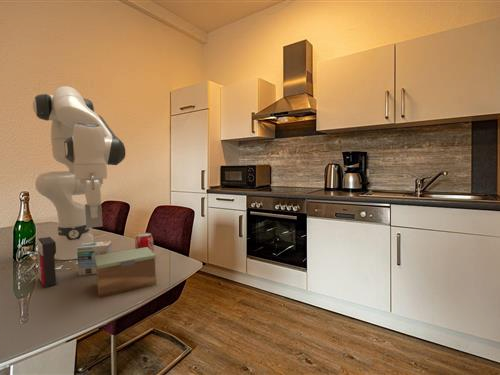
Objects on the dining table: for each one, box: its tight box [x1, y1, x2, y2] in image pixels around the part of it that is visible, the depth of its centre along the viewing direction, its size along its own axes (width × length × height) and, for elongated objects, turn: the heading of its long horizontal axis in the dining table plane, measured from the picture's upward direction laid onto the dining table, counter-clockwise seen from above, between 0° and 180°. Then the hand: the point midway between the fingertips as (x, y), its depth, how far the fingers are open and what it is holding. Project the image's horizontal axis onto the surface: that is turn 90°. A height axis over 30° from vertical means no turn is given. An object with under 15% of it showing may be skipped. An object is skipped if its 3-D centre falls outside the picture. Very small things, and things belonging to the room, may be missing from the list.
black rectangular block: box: [36, 236, 57, 288], centre depth 95 cm, size 11×4×15 cm, turn 45°
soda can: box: [134, 232, 155, 254], centre depth 114 cm, size 7×7×12 cm
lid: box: [95, 247, 157, 269], centre depth 92 cm, size 13×17×2 cm
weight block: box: [84, 203, 104, 229], centre depth 88 cm, size 4×4×7 cm
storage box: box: [95, 258, 157, 298], centre depth 93 cm, size 12×17×9 cm
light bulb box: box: [77, 240, 113, 276], centre depth 105 cm, size 11×7×11 cm, turn 106°
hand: (93, 216), depth 88 cm, fingers closed on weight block, 4 cm apart
